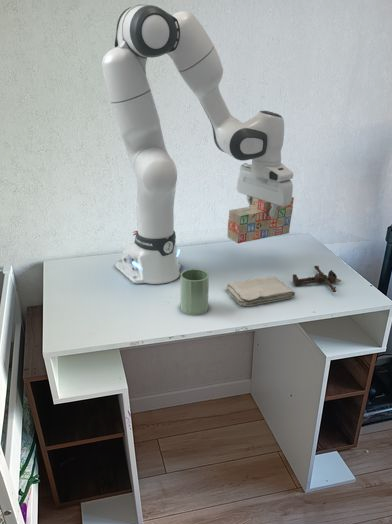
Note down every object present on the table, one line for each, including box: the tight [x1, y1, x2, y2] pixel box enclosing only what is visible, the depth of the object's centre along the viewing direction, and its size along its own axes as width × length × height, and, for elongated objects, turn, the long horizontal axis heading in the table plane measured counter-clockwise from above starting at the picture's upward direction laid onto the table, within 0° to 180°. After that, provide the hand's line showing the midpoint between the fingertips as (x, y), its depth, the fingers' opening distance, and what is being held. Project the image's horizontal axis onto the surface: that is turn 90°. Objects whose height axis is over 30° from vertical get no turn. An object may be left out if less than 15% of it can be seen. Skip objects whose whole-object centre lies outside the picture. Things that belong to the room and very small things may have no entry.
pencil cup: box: [179, 268, 210, 316], centre depth 142 cm, size 8×8×10 cm
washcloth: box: [226, 276, 296, 307], centre depth 151 cm, size 12×18×3 cm, turn 111°
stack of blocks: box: [226, 196, 295, 244], centre depth 165 cm, size 21×6×12 cm, turn 122°
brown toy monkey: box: [292, 265, 342, 294], centre depth 158 cm, size 18×4×14 cm
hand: (261, 212), depth 164 cm, fingers closed on stack of blocks, 6 cm apart
